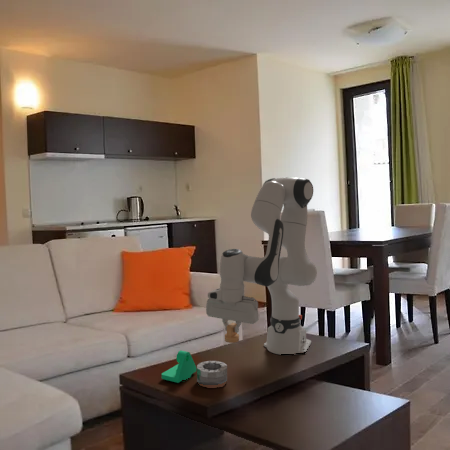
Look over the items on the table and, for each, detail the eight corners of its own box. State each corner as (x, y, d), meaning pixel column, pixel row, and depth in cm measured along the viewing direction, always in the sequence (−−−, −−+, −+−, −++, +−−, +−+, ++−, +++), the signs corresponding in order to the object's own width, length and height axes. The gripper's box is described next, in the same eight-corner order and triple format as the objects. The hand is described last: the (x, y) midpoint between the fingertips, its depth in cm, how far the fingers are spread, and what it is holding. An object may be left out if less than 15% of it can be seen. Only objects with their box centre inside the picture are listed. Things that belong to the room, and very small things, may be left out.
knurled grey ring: (207, 374, 201) (207, 358, 200) (232, 380, 195) (232, 364, 195) (191, 384, 192) (191, 368, 191) (217, 391, 186) (217, 374, 186)
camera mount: (179, 370, 205) (179, 343, 204) (196, 374, 202) (196, 347, 200) (160, 381, 195) (160, 353, 194) (178, 385, 191) (178, 357, 190)
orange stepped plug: (229, 337, 203) (229, 321, 202) (241, 339, 200) (241, 323, 199) (222, 341, 198) (222, 325, 197) (234, 343, 196) (234, 327, 195)
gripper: (261, 296, 194) (261, 333, 196) (212, 289, 204) (212, 324, 206) (253, 300, 189) (253, 338, 191) (203, 292, 199) (203, 329, 201)
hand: (231, 331), depth 199 cm, fingers closed on orange stepped plug
